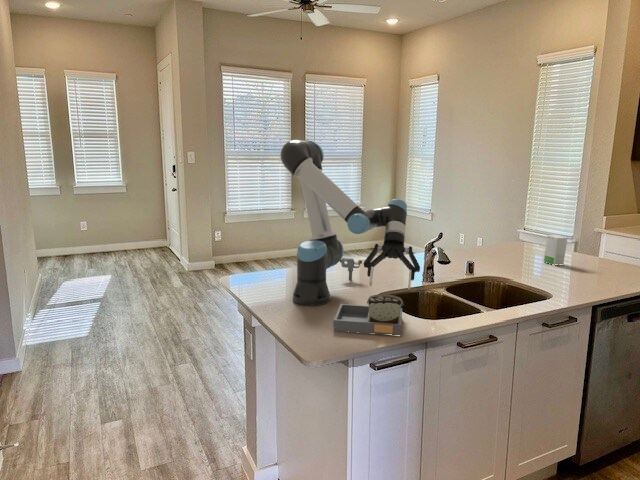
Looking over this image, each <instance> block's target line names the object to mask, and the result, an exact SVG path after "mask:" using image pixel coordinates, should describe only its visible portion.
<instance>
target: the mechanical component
mask: <svg viewBox="0 0 640 480" xmlns="http://www.w3.org/2000/svg"><path fill="white" fill-rule="evenodd" d="M339 263H340V265H341V267H342V268H345V269H346V268H347V271H348V281H351V282H352V281H353V272H354V269H360V267H361V264H363V260H361V259H358V261H357V262H356V261H355V259H354V258H345V257H344V258H343V257H342V259H341V260H340V261H339Z"/></svg>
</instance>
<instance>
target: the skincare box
mask: <svg viewBox="0 0 640 480" xmlns="http://www.w3.org/2000/svg"><path fill="white" fill-rule="evenodd" d="M567 243H568V237H565V236H562V235H559V234H547V235H546V242H545V249H544V257H543V263H544V262H547V263H550V264H554V265H555V264H563V265H564V263H565V255H566V250H567ZM547 263H546V264H547ZM550 264H549V265H550Z"/></svg>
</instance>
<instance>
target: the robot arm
mask: <svg viewBox="0 0 640 480" xmlns="http://www.w3.org/2000/svg"><path fill="white" fill-rule="evenodd" d="M323 151H324V150H323V149H322V147H321V146H320V145H319V144H318V143H317V142H315V141H313V140H309V139H305V140H304V139H302V140H301V139H292V140H289V141H287V142H286V143H285V144H284V145H283V146H282V148H281V150H280V160H281V163H282V165H283V166H284V167H285V169H287V171H288V172H289V173H290V174H291V175H293V176H294V178H298V179H299V182H300V186H301V191H302V196H303V199H304V204H305V209H306V214H307V218H308V223H309V226H310V227H309V228H310V233H311V235H310V237H309V240H307V241H304V242H301V243H300V244H299V245H298V246H297V250H296V251H297V252H296V256H297V257H296V262H297V263H296V273H297V274H296V276H297V277H296V283H295V287H294V291H293V293H292V301H293V302H294V303H296V304H298V305H301V306H311V307H312V306H321V305H326V304H328V303H330V301H331V294H330V293H331V292H330V290H329V287H328V283H327V270H328V269H329V268H331V267H334V266H335V265H337V264H338V263H340V260H341V259H342V258H343V256H344V247H343V244H342V242H341V241H340V240H339V239H338V238H337V233H336V232H335V231H333V229H332V225H331V222H330V217H329V212H328V208H327V205H328V206H329V207H330V208H331V209H332V210H333V211H334V212H335V213H336V214H337V215H338V216H339V217H341V219H343V221H345V222H346V224H347V228H348V230H349V231H350V232H351V233H352V234H355V235H361V234H365V233H367V232H368V231H370V230H373V229H375V228H381V227H385V229H384V239H383V244H382V245H379V244H378V243H375V244H374V246H373V247H374V248H373V250H371V252H370V253H369V254H368V256H367V257H366V259H365V260H364V262H363V267H364V268H365V269H367V273H366V275H367V277H369V280H368V281H369V284H368V285H369V287H372V285H373V279H374V278H373V277H374V270H375V269H374V268H375V267H376V266H377V265H378V264H379V263H380V262H382V261H383V260H385V259H386V258H388V259H395V260H396V259H399V260H400V261H401V262H402V263H403V264H404V266H405V267H406V268H407V269H408V271H409V272H408V282H407V283H408V284H407V290H411V283H412V281H414V280H415V275H416V274H415V273H419V272H420V271H421V266H420V264H419V262H418V259H417V258H416V256H415V254H414V252H413V247H412V246H411V245H410V246H408V247H405V238H406V237H405V234H406V225H407V224H406V223H407V222H406V221H407V216H408V209H407V207H408V205H407V203H406V202H405V200H403V199H400V198H394V199H391V200H389V201H388V204H387V205H386V206H384V207H383V206H382V207H377V208H370V209H369V208H366V209H362V208H361V207H360V206H359V205H358V204H357V203H356V202H355V201H354V200H353V199H351V198H350V196H348V195H347V194H346V193H345V192H344V191H343V190H342V189H340V187H339V186H338V185H337V184H336V183H335V182H333V181H332V180H331V178H329V177H328V176H327V175H326V174H325V173H324V172H323V166H322V164H323V161H324V158H325V157H324V152H323ZM380 251H382V252H381V253H380V254H379V255H378V256H377V257H376V255H377V254H378V252H380ZM405 252H406V254H407V255H408V256H409V258H410V261H409V259H408V258H407V257H406V256H405V254H404V253H405Z"/></svg>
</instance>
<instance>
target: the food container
mask: <svg viewBox="0 0 640 480" xmlns="http://www.w3.org/2000/svg"><path fill="white" fill-rule="evenodd" d="M366 304H367V306H369V319H370V322H377V323H390V324H398V323H399V317H400V311H401V308H402V306H404V301H403V299H402V298H401V297H399V296H397V295H393V294H387V293H385V294H381V293H380V294H372V295H370V296H369V297H368V298H367V301H366Z"/></svg>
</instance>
